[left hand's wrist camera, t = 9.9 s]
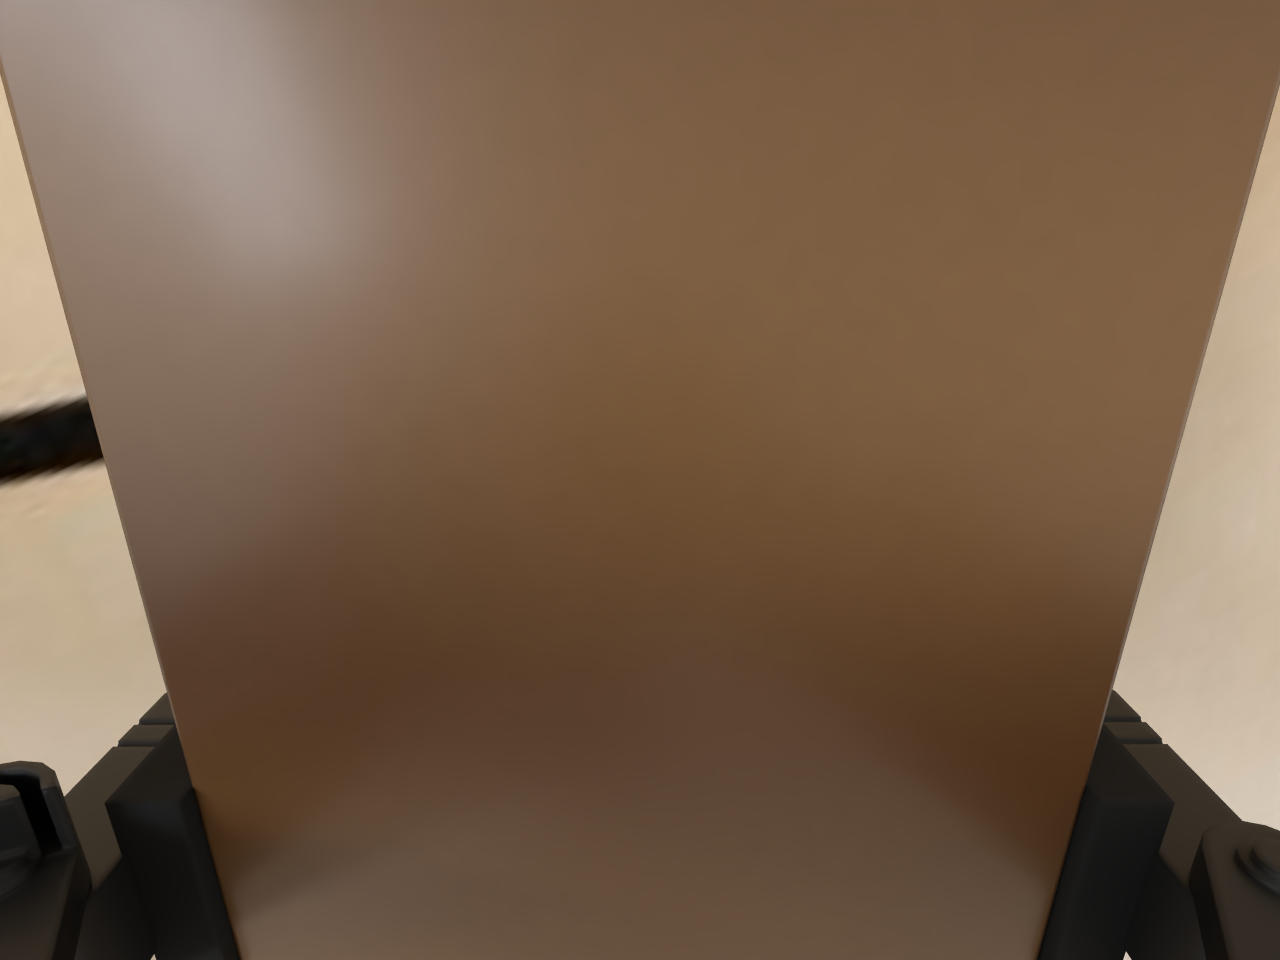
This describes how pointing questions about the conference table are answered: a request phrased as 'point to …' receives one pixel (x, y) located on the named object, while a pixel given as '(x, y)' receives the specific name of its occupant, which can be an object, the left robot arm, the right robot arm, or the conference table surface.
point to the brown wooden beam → (640, 441)
